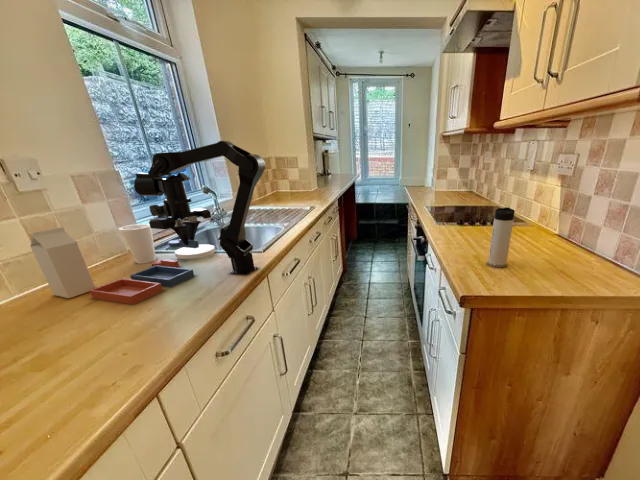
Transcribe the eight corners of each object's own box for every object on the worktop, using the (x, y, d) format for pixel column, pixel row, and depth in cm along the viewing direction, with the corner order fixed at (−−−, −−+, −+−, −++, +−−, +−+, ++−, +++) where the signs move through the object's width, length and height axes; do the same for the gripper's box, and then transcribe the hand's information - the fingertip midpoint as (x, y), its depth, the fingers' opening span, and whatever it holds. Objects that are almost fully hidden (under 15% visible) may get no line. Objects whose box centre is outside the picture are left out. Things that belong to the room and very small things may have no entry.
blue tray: (194, 276, 106) (192, 269, 105) (170, 287, 98) (168, 279, 97) (158, 272, 110) (156, 265, 109) (132, 282, 102) (129, 275, 101)
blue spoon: (202, 245, 108) (201, 238, 107) (191, 249, 104) (189, 242, 103) (177, 243, 110) (175, 236, 109) (166, 247, 106) (164, 240, 105)
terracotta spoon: (183, 265, 116) (181, 259, 115) (172, 269, 112) (170, 263, 111) (160, 262, 119) (158, 256, 118) (148, 267, 115) (146, 260, 114)
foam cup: (129, 266, 115) (116, 231, 110) (132, 259, 123) (121, 225, 117) (160, 261, 120) (149, 227, 114) (161, 255, 127) (151, 222, 122)
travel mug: (508, 263, 116) (517, 208, 108) (503, 269, 111) (512, 211, 103) (490, 260, 119) (498, 206, 111) (485, 265, 114) (493, 209, 106)
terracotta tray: (163, 290, 96) (160, 283, 95) (133, 304, 88) (130, 296, 87) (124, 285, 100) (121, 278, 99) (92, 298, 91) (89, 290, 90)
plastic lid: (182, 251, 131) (181, 245, 130) (219, 248, 134) (218, 243, 133) (171, 262, 119) (169, 256, 118) (211, 259, 122) (210, 253, 121)
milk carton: (96, 289, 97) (71, 228, 89) (69, 299, 91) (39, 234, 83) (81, 286, 99) (55, 226, 91) (53, 295, 93) (23, 232, 85)
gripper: (181, 191, 110) (192, 235, 116) (127, 199, 93) (144, 250, 100) (207, 192, 107) (217, 237, 113) (157, 201, 91) (172, 253, 97)
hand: (188, 244), depth 106 cm, fingers closed on blue spoon, 2 cm apart
